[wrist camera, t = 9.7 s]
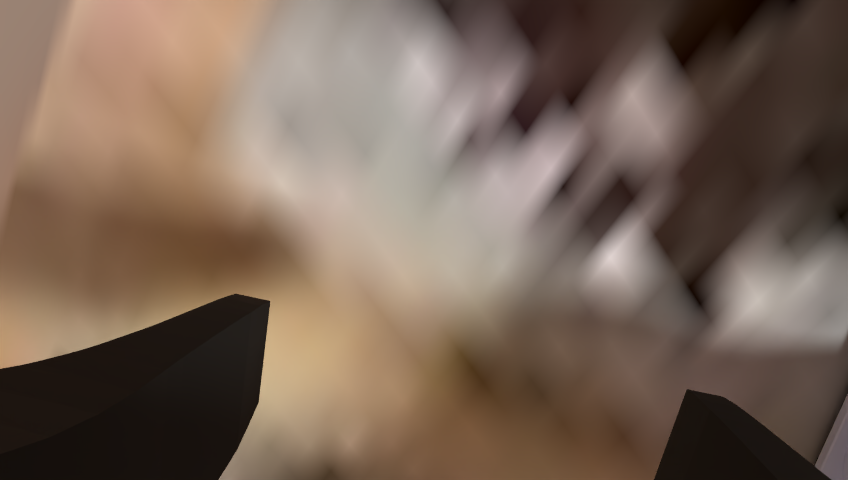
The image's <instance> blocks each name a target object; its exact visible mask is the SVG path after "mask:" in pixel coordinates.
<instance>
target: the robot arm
mask: <svg viewBox="0 0 848 480" xmlns="http://www.w3.org/2000/svg"><path fill="white" fill-rule="evenodd" d="M269 307H270V301H267V300H263V299H258V298H253V297H249V296H244V295H239V294H234V295H230V296H227V297H224V298H221V299H218V300H216V301H213V302H211V303H208V304H206V305H203V306H201V307H198V308H196V309H193V310H191V311H189V312H186V313H184V314H181V315H179V316H176V317H174V318H171V319H169V320H166V321H164V322H161V323H159V324H156V325H154V326H151V327H148V328H145V329H143V330H140V331H137V332H134V333H131V334H128V335H125V336H123V337H120V338H117V339H114V340H111V341H108V342H105V343H102V344H100V345H97V346H93V347H90V348H87V349H83V350H80V351H76V352H73V353H69V354H66V355H62V356H58V357H54V358H50V359H46V360H42V361H38V362H33V363H29V364H24V365H20V366H14V367H9V368H3V369H0V480H218V479H219V478H220V476H221V475H222V473H223V471H224V470H225V468H226V467H227V465H228V463H229V462H230V460H231V459H232V457H233V455H234V454H235V452H236V450H237V449H238V446H239V444H240V442H241V440H242V438H243V436H244V434H245V432H246V429H247V427H248V425H249V423H250V420H251V418H252V416H253V414H254V411H255V409H256V407H257V405H258V402H259V394H260V385H261V376H262V368H263V359H264V350H265V342H266V333H267V325H268V316H269ZM654 480H848V394H847V396H846V399H845V401H844V403H843V405H842V407H841V410H840V412H839V414H838V416H837V418H836V420H835V423H834V425H833V427H832V429H831V431H830V434H829V436H828V438H827V440H826V442H825V444H824V447H823V449H822V451H821V453H820V455H819V458H818V460H817V462H816V464H815V466H813V465H812V464H811V463H810V462H808V461H807V460H806V459H805V458H803V457H802V456H801V455H800V454H798V453H797V452H796V451H795V450H793V449H792V448H791V447H790V446H788V445H787V444H786V443H785V442H783V441H782V440H781V439H780V438H778V437H777V436H776V435H775V434H773V433H772V432H771V431H770V430H768V429H767V428H766V427H765V426H763V425H762V424H761V423H760V422H758V421H757V420H756V419H754V418H753V417H752V416H750V415H749V414H748V413H746V412H745V411H744V410H742V409H741V408H740V407H738V406H737V405H735V404H734V403H732V402H731V401H729V400H727V399H726V398H724V397H721V396H716V395H711V394H707V393H702V392H697V391H693V390H688V389H687V391H686V393H685V396H684V399H683V402H682V404H681V407H680V410H679V413H678V415H677V418H676V421H675V424H674V426H673V429H672V432H671V435H670V437H669V440H668V443H667V446H666V448H665V451H664V454H663V457H662V459H661V462H660V465H659V468H658V470H657V473H656V476H655V479H654Z"/></svg>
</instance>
